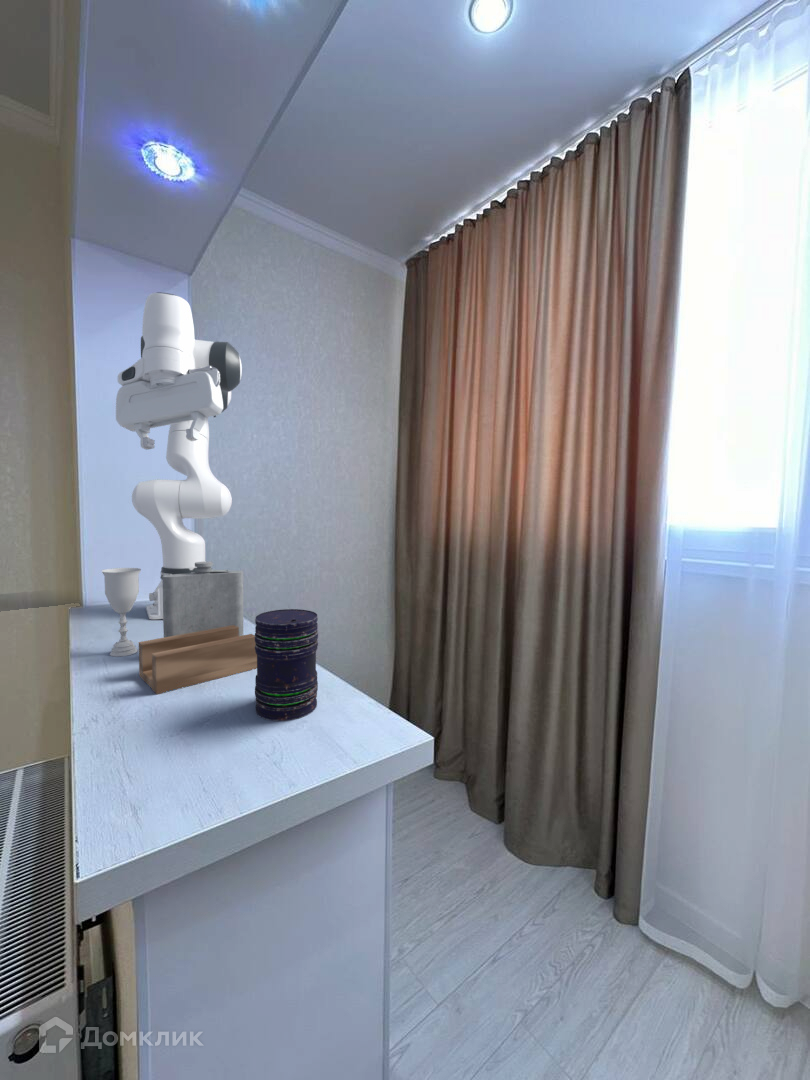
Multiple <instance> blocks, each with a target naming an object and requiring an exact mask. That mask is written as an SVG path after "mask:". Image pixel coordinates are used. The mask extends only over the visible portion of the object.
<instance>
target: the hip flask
mask: <svg viewBox="0 0 810 1080" xmlns="http://www.w3.org/2000/svg"><path fill="white" fill-rule="evenodd" d="M213 566H214V562H213V561H205V562H195V567H197V568H196V572H197V573H185V574H173V575H164V576H162V578H163V619H162V620H163V621H162V623H163V625H162V626H163V638H165V637H170V636H176V635H181V634H187V633H193V632H198V631H204V630H209V629H215V628H221V627H226V626H232V625H234V626H237V627H239V636H243V635H244V571H242V570H229V569H213V568H212V567H213Z"/></svg>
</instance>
